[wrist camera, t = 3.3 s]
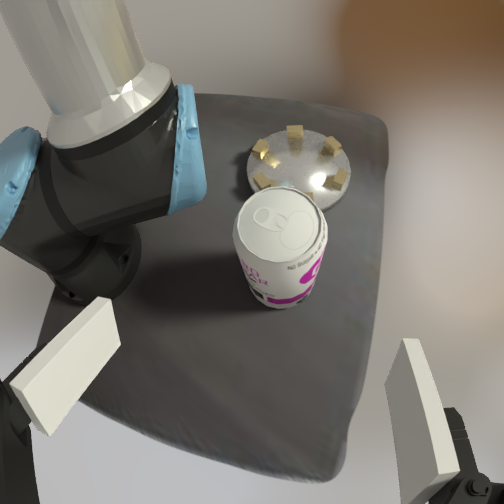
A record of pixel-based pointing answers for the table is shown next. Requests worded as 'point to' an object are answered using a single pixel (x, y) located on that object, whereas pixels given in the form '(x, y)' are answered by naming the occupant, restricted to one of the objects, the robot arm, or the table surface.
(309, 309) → the table surface
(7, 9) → the robot arm
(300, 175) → the ring plate
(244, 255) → the supplement can
